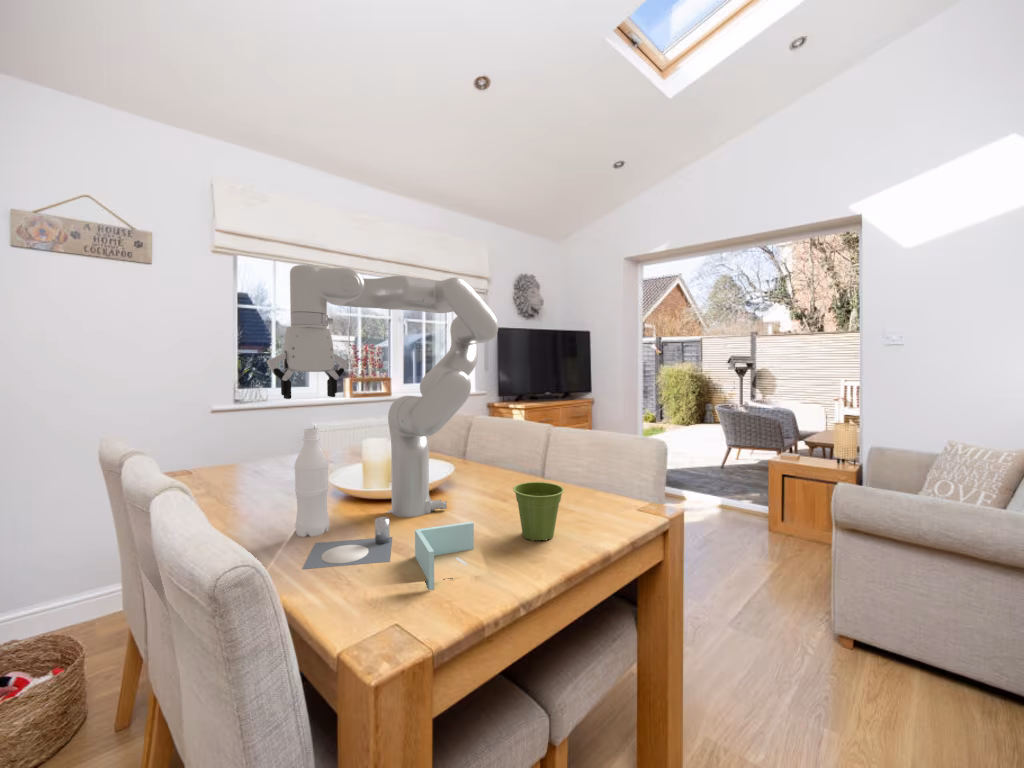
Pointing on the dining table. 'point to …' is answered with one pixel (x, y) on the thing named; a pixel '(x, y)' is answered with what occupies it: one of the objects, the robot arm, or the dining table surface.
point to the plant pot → (538, 508)
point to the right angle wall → (441, 545)
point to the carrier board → (348, 553)
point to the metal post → (382, 530)
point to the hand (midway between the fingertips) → (310, 397)
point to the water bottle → (311, 487)
